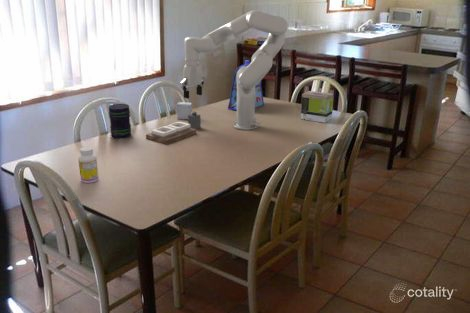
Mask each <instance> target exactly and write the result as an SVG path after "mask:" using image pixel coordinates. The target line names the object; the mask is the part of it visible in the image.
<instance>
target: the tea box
mask: <svg viewBox="0 0 470 313" xmlns="http://www.w3.org/2000/svg"><path fill="white" fill-rule="evenodd" d="M300 106H301V107H300V108H301V111H300V120H304V119H305V120H306V121H312V122H316V123H317V122H318V123H324V124H325V123H328V122H330V121H331V120H332V118H333V109H334V108H333V106H334V93H330V92H329V93H328V92H320V91H312V90H308V91H306V92H304V93H302V94H301V104H300Z"/></svg>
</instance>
